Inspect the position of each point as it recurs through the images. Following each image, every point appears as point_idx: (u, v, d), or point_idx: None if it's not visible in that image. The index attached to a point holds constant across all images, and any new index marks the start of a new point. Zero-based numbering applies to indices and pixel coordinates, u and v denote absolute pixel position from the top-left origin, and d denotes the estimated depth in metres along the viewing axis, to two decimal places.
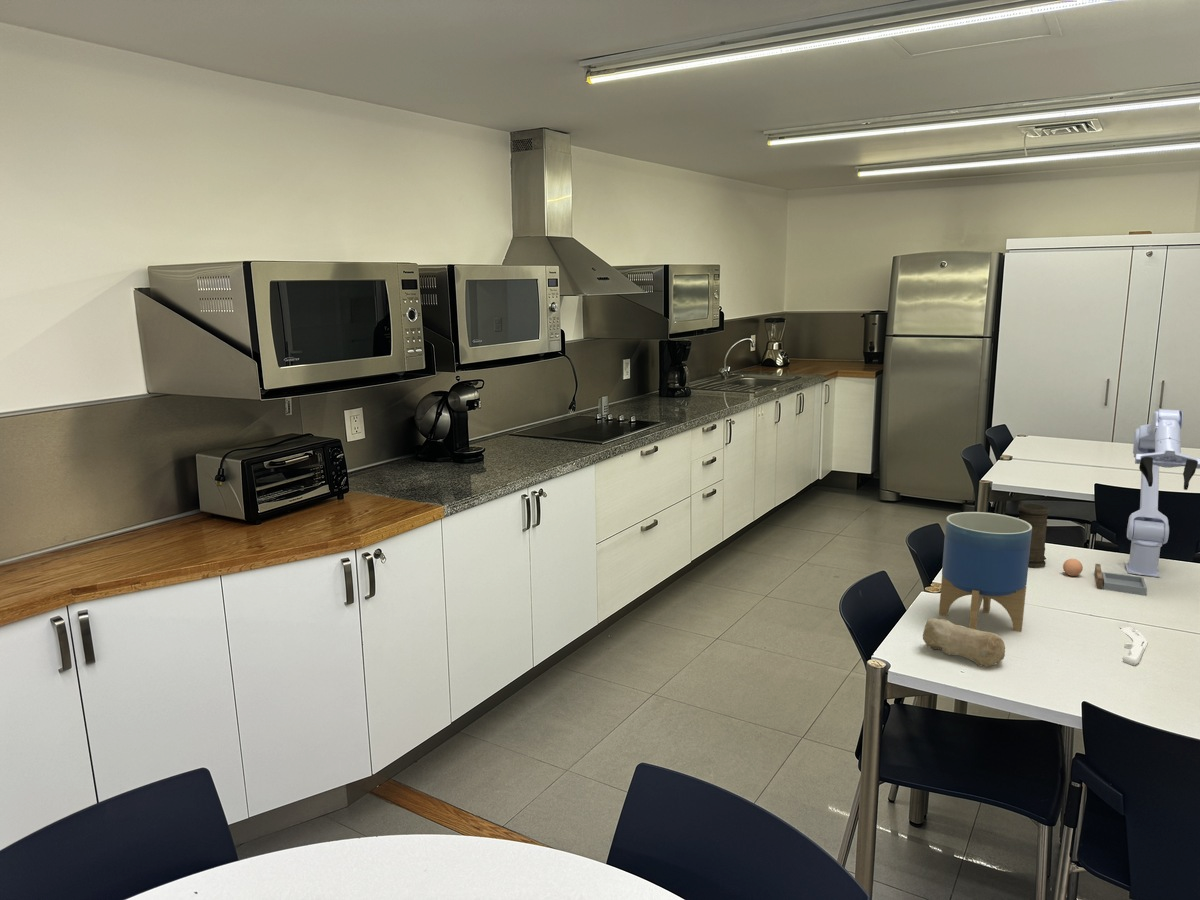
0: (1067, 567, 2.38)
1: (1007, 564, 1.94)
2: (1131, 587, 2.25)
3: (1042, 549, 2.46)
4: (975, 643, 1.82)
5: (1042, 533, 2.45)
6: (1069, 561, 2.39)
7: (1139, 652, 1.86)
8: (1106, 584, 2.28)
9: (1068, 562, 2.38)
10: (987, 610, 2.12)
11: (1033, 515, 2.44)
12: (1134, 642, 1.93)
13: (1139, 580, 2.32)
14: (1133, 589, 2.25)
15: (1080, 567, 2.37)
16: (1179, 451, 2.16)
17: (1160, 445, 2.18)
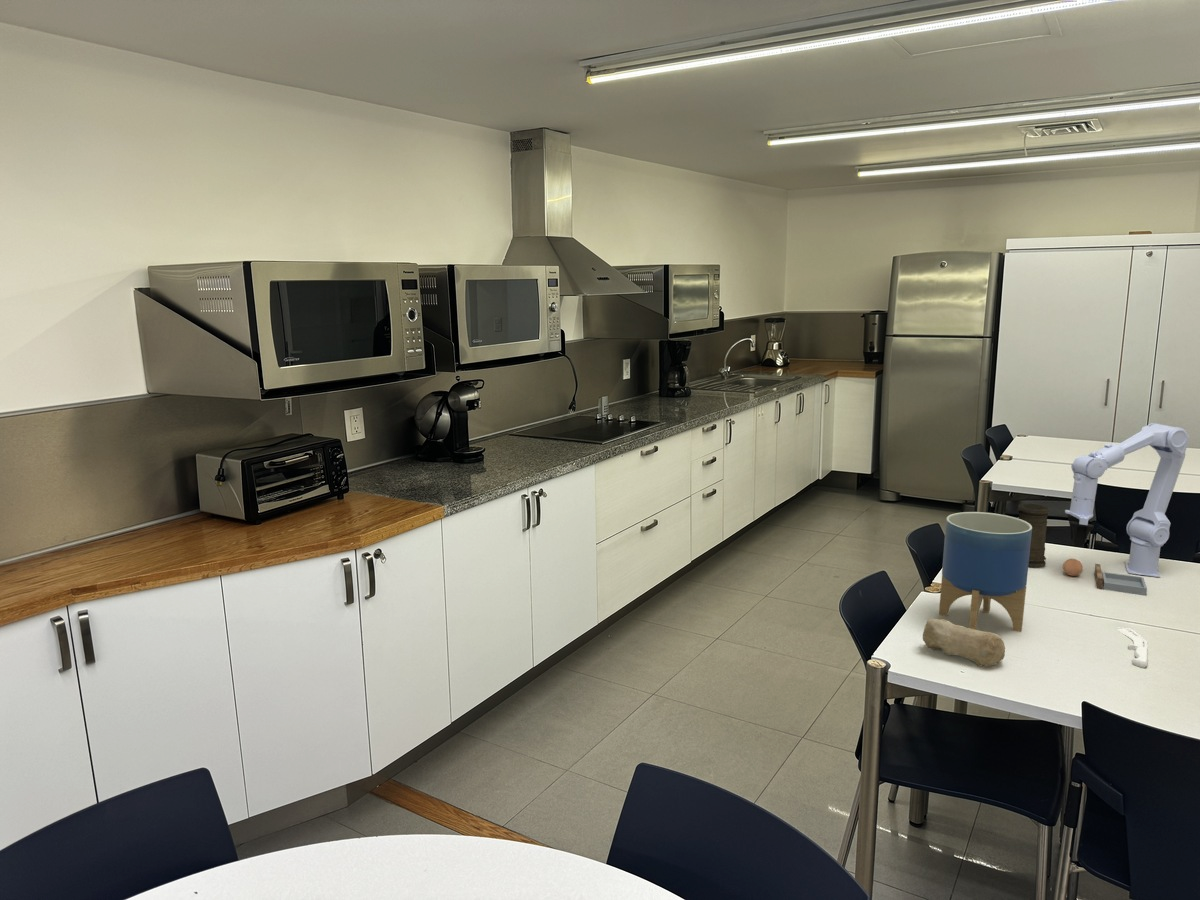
0: (1067, 567, 2.38)
1: (1007, 564, 1.94)
2: (1131, 587, 2.25)
3: (1042, 549, 2.46)
4: (976, 643, 1.82)
5: (1042, 533, 2.45)
6: (1069, 561, 2.39)
7: (1145, 653, 1.86)
8: (1106, 584, 2.28)
9: (1068, 562, 2.38)
10: (987, 610, 2.12)
11: (1033, 515, 2.44)
12: (1136, 643, 1.93)
13: (1139, 580, 2.32)
14: (1133, 589, 2.25)
15: (1080, 567, 2.37)
16: (1076, 508, 2.33)
17: None
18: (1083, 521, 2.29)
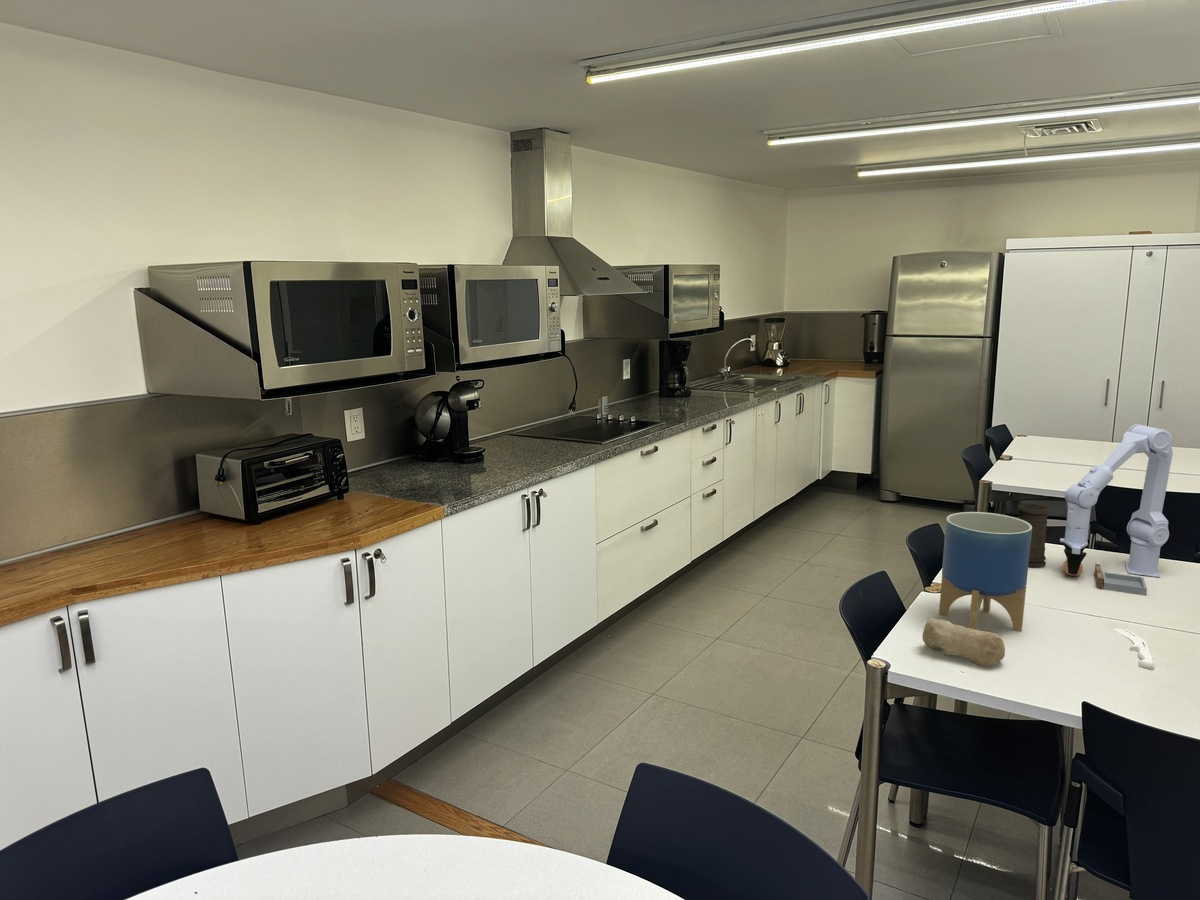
0: (1067, 567, 2.38)
1: (1007, 564, 1.94)
2: (1131, 587, 2.25)
3: (1042, 549, 2.46)
4: (976, 643, 1.82)
5: (1042, 533, 2.45)
6: None
7: (1150, 654, 1.85)
8: (1106, 584, 2.28)
9: None
10: (987, 610, 2.12)
11: (1033, 515, 2.44)
12: (1136, 644, 1.93)
13: (1139, 580, 2.32)
14: (1133, 589, 2.25)
15: (1080, 567, 2.37)
16: (1070, 537, 2.36)
17: None
18: (1076, 551, 2.32)
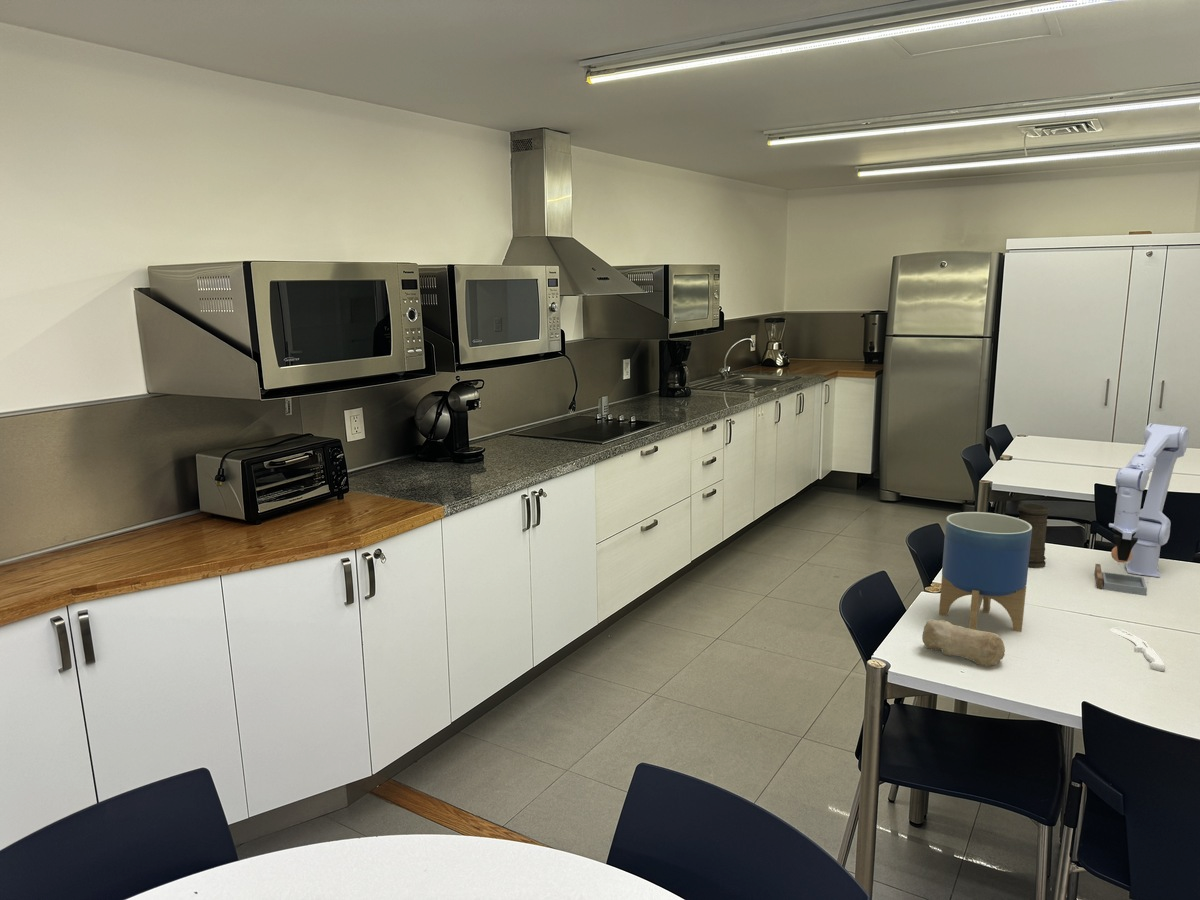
0: (1115, 553, 2.29)
1: (1007, 564, 1.94)
2: (1131, 587, 2.25)
3: (1042, 549, 2.46)
4: (976, 643, 1.82)
5: (1042, 533, 2.45)
6: None
7: (1157, 655, 1.84)
8: (1106, 584, 2.28)
9: None
10: (987, 610, 2.12)
11: (1033, 515, 2.44)
12: (1138, 644, 1.92)
13: (1139, 580, 2.32)
14: (1133, 589, 2.25)
15: None
16: (1120, 522, 2.26)
17: None
18: (1127, 536, 2.22)
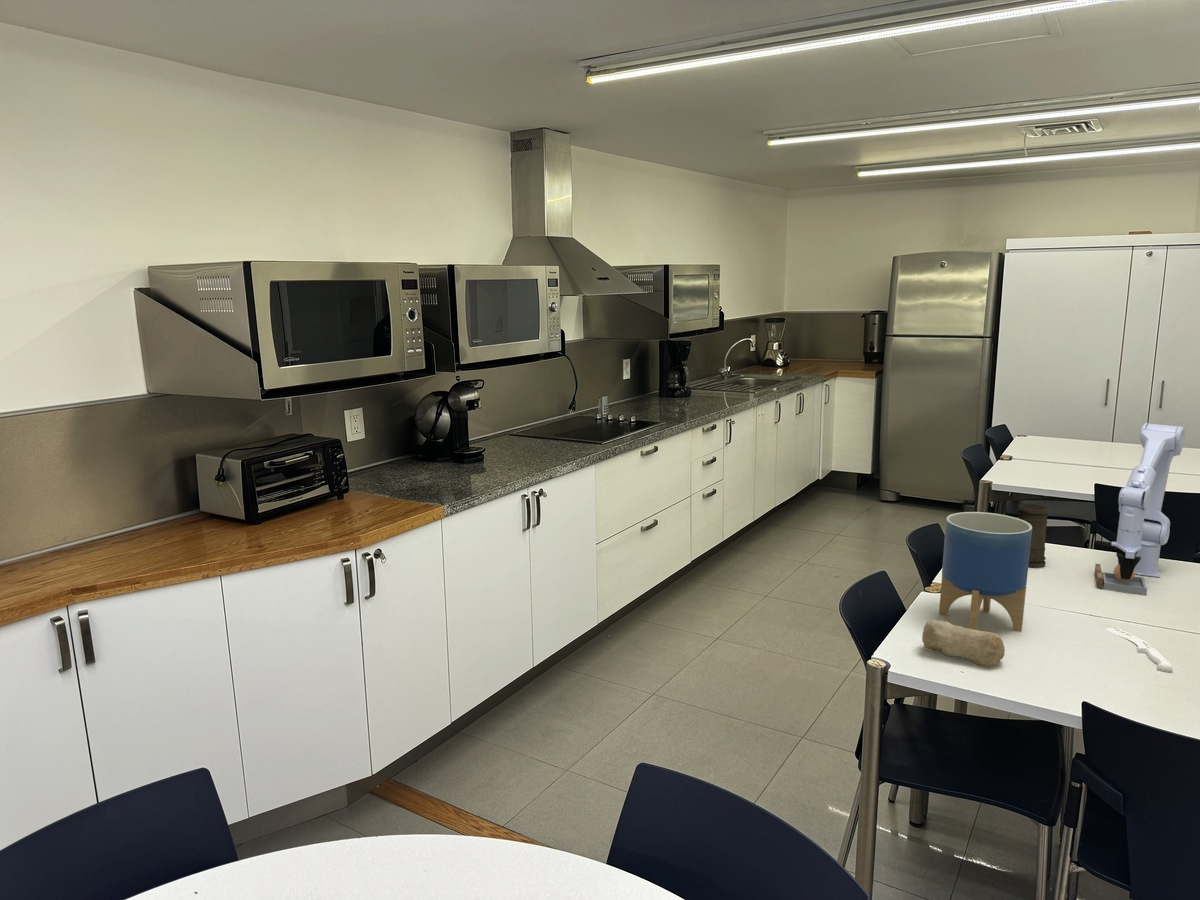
0: (1118, 572, 2.29)
1: (1007, 564, 1.94)
2: (1131, 587, 2.25)
3: (1042, 549, 2.46)
4: (977, 643, 1.82)
5: (1042, 533, 2.45)
6: None
7: (1162, 656, 1.84)
8: (1106, 584, 2.28)
9: None
10: (987, 610, 2.12)
11: (1033, 515, 2.44)
12: (1139, 645, 1.92)
13: (1139, 580, 2.32)
14: (1133, 589, 2.25)
15: None
16: (1122, 541, 2.27)
17: None
18: (1130, 555, 2.22)
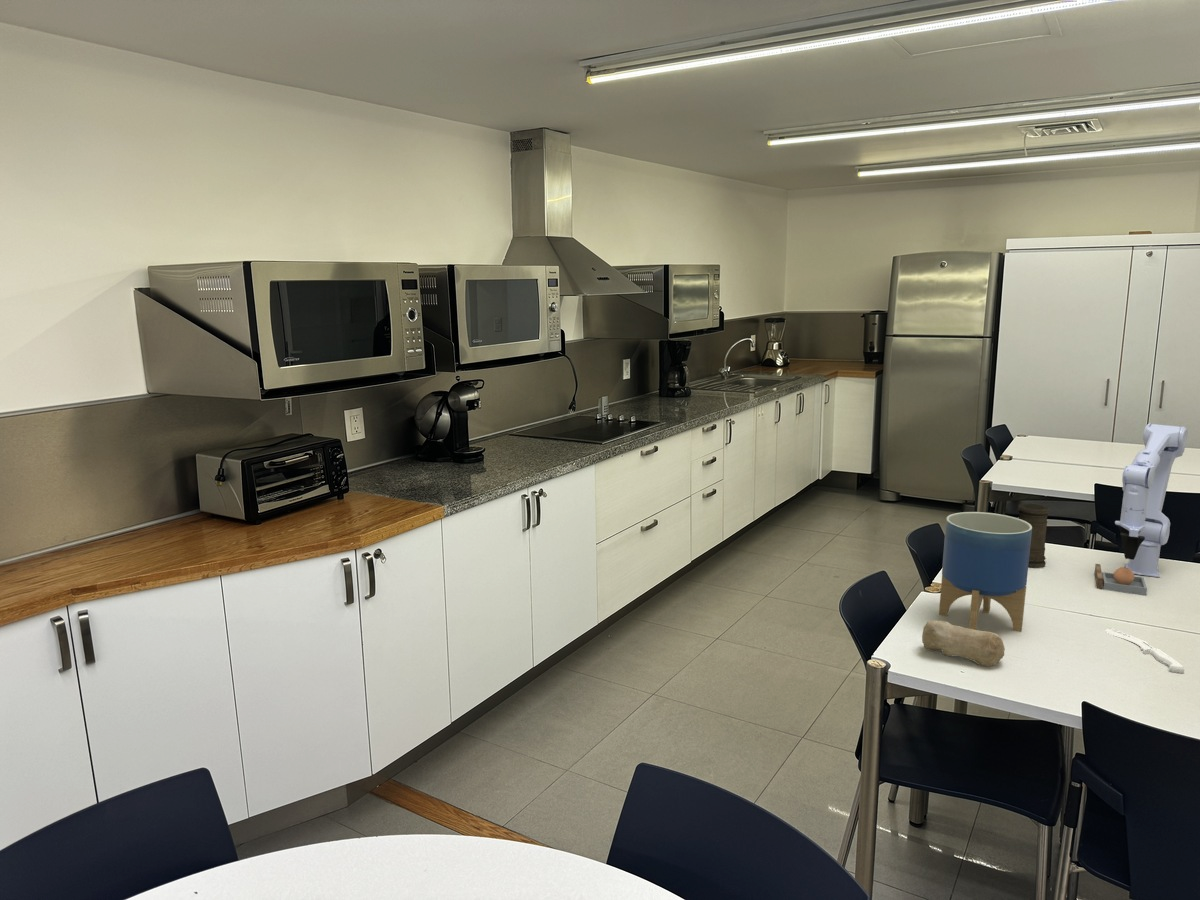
0: (1118, 576, 2.29)
1: (1007, 564, 1.94)
2: (1131, 587, 2.25)
3: (1042, 549, 2.46)
4: (977, 643, 1.82)
5: (1042, 533, 2.45)
6: (1120, 570, 2.29)
7: (1169, 657, 1.84)
8: (1106, 584, 2.28)
9: (1119, 570, 2.29)
10: (987, 610, 2.12)
11: (1033, 515, 2.44)
12: (1142, 645, 1.92)
13: (1139, 580, 2.32)
14: (1133, 589, 2.25)
15: (1132, 576, 2.28)
16: (1126, 519, 2.25)
17: None
18: (1133, 533, 2.21)
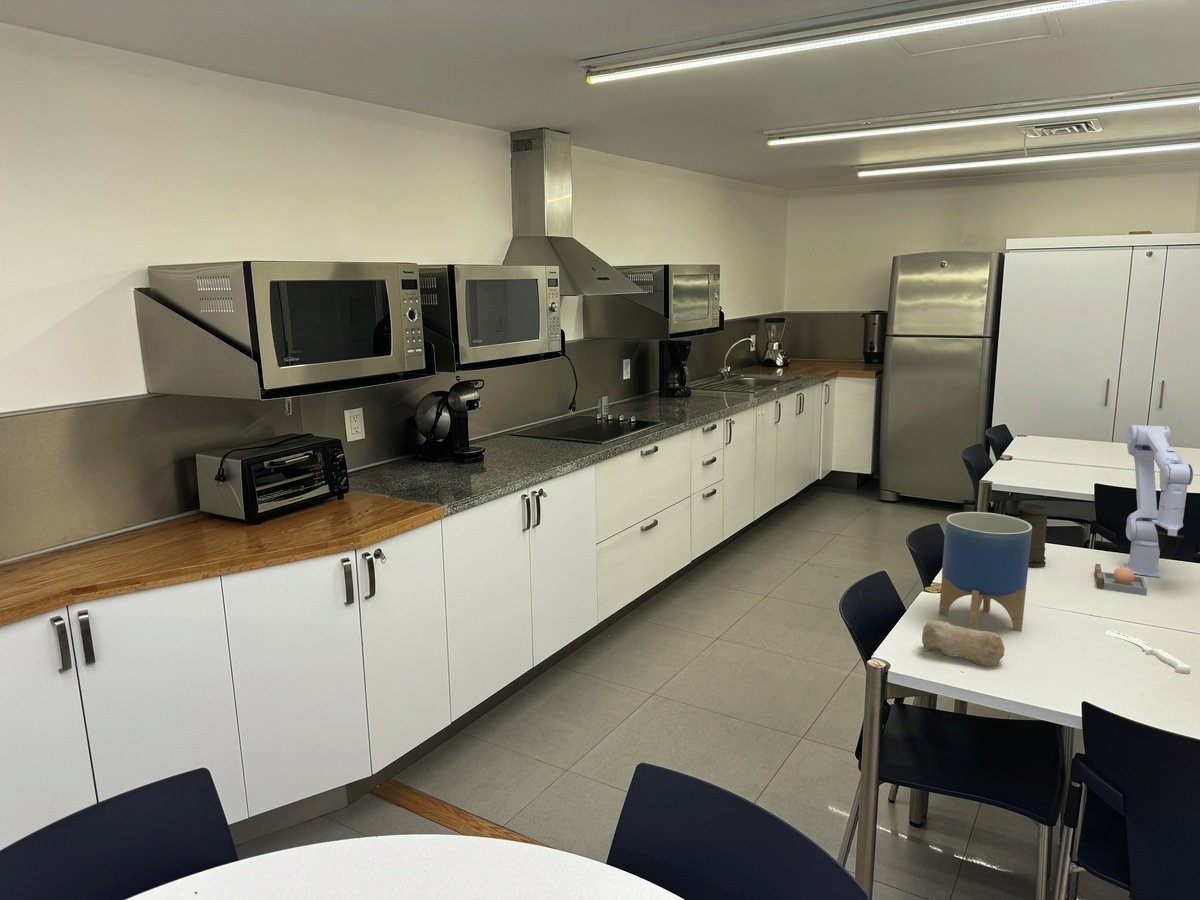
0: (1118, 576, 2.29)
1: (1007, 564, 1.94)
2: (1131, 587, 2.25)
3: (1042, 549, 2.46)
4: (977, 643, 1.82)
5: (1042, 533, 2.45)
6: (1120, 569, 2.29)
7: (1173, 657, 1.84)
8: (1106, 584, 2.28)
9: (1119, 570, 2.29)
10: (987, 610, 2.12)
11: (1033, 515, 2.44)
12: (1143, 646, 1.92)
13: (1139, 580, 2.32)
14: (1133, 589, 2.25)
15: (1132, 576, 2.28)
16: (1164, 518, 2.23)
17: None
18: (1172, 532, 2.18)
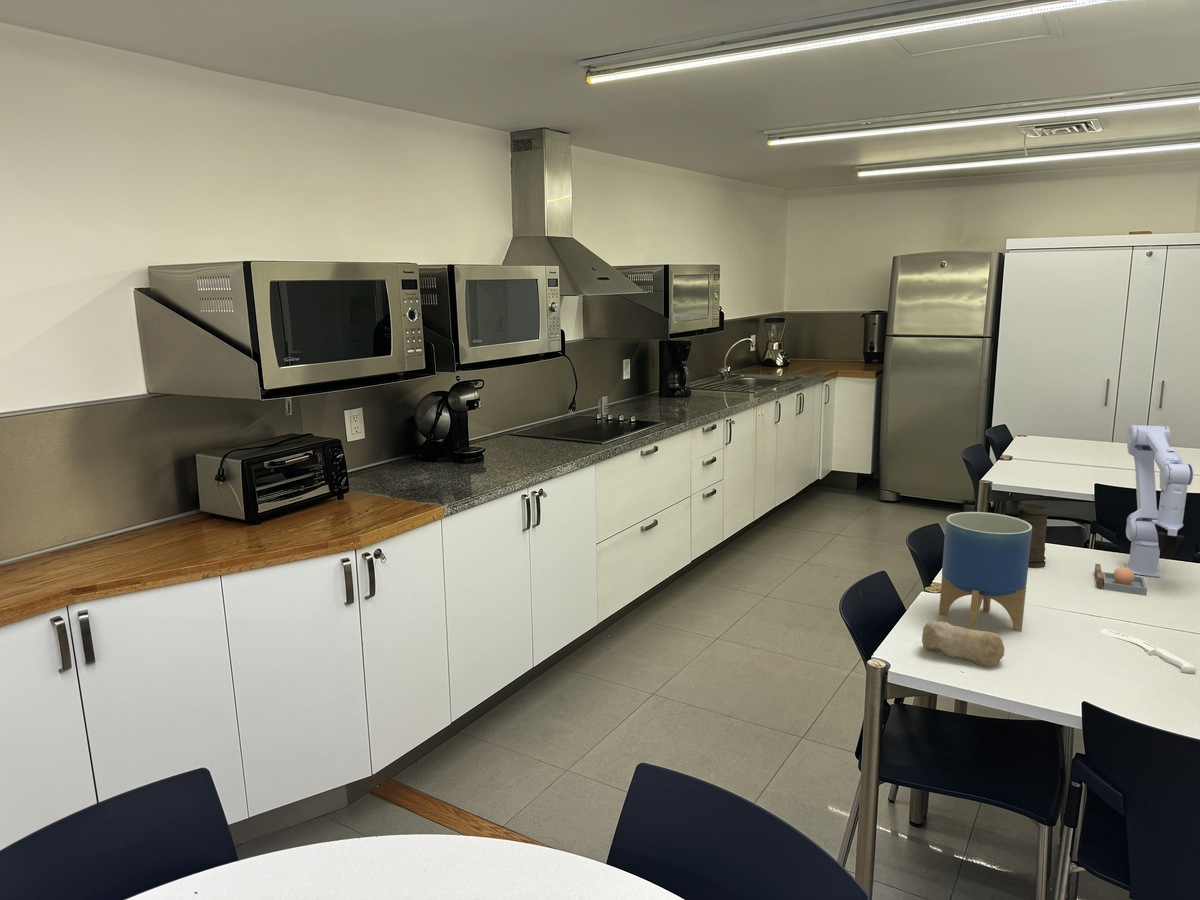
0: (1118, 576, 2.29)
1: (1007, 564, 1.94)
2: (1131, 587, 2.25)
3: (1042, 549, 2.46)
4: (977, 643, 1.82)
5: (1042, 533, 2.45)
6: (1120, 569, 2.29)
7: (1177, 657, 1.84)
8: (1106, 584, 2.28)
9: (1119, 570, 2.29)
10: (987, 610, 2.12)
11: (1033, 515, 2.44)
12: (1144, 646, 1.91)
13: (1139, 580, 2.32)
14: (1133, 589, 2.25)
15: (1131, 576, 2.28)
16: (1164, 518, 2.23)
17: None
18: (1172, 532, 2.18)
